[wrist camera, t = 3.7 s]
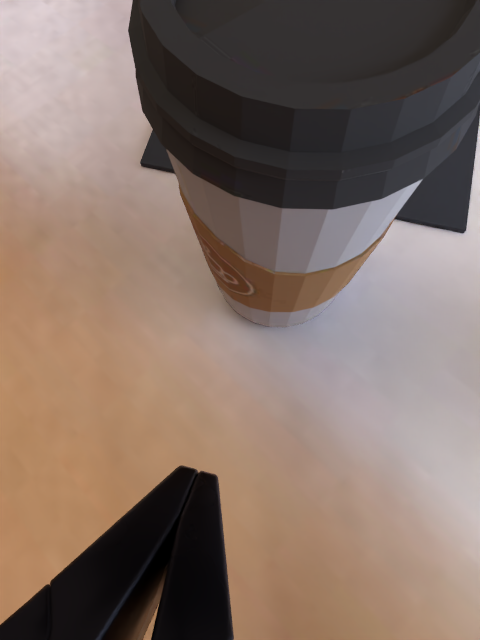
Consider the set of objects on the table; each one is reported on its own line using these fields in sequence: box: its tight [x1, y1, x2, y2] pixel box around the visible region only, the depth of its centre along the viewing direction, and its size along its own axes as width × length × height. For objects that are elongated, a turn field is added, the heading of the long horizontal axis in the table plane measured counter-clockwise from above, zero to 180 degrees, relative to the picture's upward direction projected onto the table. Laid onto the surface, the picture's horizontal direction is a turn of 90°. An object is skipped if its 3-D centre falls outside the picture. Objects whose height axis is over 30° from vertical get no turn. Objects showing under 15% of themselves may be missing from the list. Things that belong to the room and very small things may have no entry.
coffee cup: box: [128, 0, 480, 327], centre depth 16 cm, size 8×8×15 cm
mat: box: [140, 103, 480, 233], centre depth 27 cm, size 22×18×1 cm
